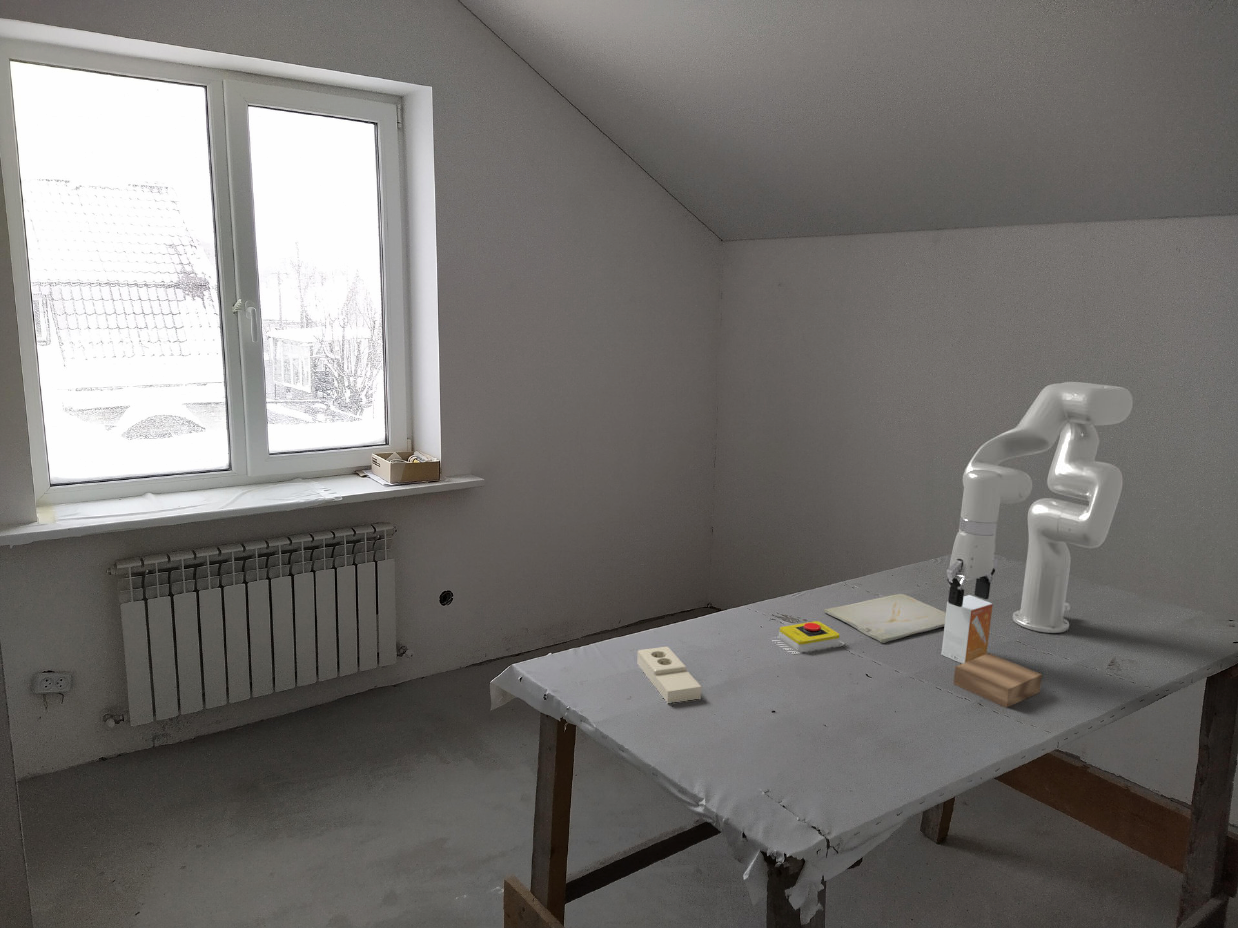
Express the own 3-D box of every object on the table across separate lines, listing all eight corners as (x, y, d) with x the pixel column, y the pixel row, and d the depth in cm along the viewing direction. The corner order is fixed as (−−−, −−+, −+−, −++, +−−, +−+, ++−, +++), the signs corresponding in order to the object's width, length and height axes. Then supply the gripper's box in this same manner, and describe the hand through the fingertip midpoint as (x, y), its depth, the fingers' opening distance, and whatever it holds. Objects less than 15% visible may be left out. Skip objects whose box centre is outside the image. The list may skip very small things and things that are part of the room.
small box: (965, 665, 190) (971, 610, 187) (940, 655, 195) (946, 600, 192) (987, 657, 194) (993, 602, 191) (962, 647, 199) (968, 593, 196)
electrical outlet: (667, 686, 170) (637, 649, 186) (667, 705, 171) (636, 666, 187) (701, 682, 172) (668, 645, 189) (700, 700, 173) (667, 662, 189)
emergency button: (847, 629, 198) (792, 638, 193) (846, 646, 199) (791, 657, 194) (823, 614, 207) (769, 623, 201) (822, 631, 208) (768, 640, 202)
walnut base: (986, 669, 188) (988, 652, 187) (1039, 692, 178) (1042, 674, 177) (953, 683, 181) (955, 666, 180) (1006, 707, 171) (1008, 689, 170)
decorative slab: (883, 647, 200) (884, 639, 199) (820, 615, 218) (821, 608, 217) (963, 625, 213) (964, 618, 212) (898, 597, 231) (898, 590, 230)
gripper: (985, 517, 195) (976, 589, 199) (938, 527, 186) (929, 602, 189) (1016, 526, 189) (1006, 599, 193) (969, 536, 180) (959, 613, 183)
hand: (968, 601), depth 191 cm, fingers open, 9 cm apart
